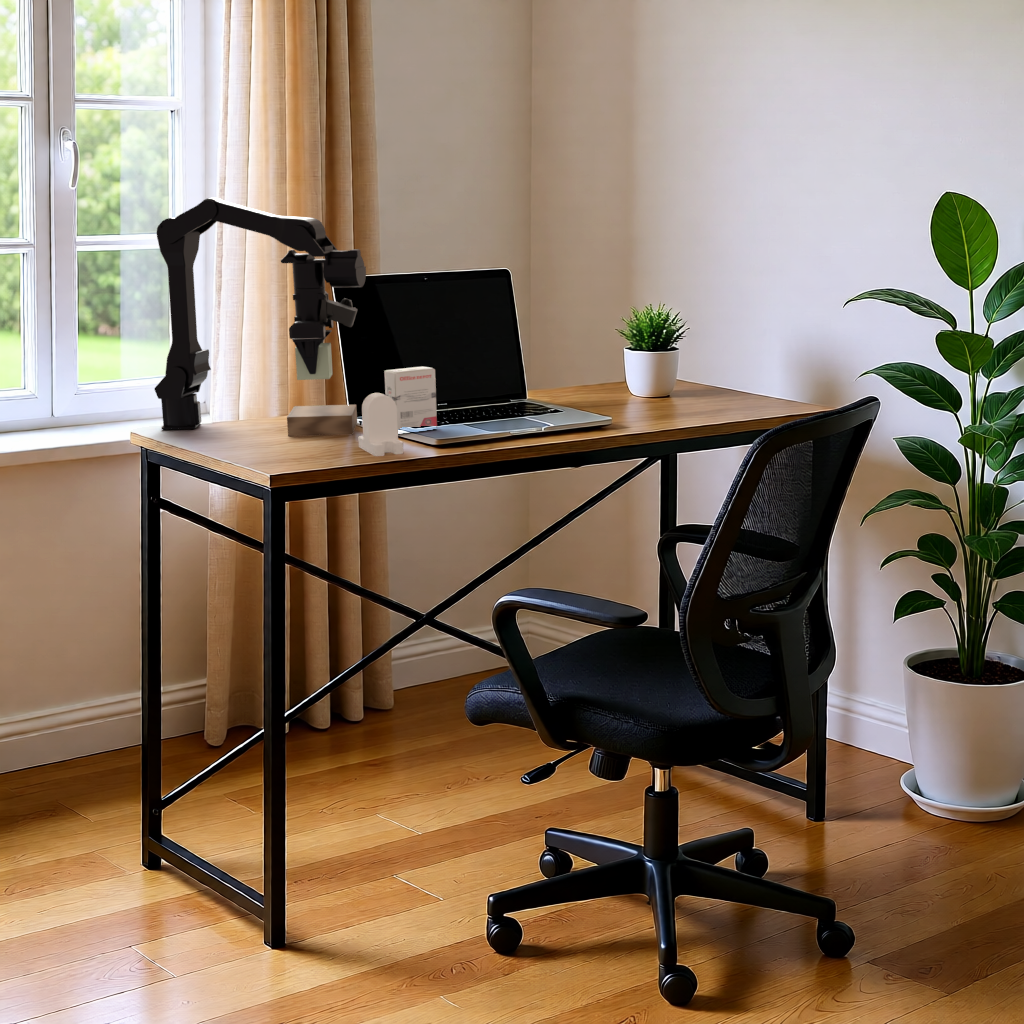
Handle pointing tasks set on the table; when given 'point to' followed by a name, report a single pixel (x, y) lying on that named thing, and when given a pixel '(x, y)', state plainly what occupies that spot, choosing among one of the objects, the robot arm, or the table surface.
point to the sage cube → (322, 364)
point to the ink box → (413, 395)
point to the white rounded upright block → (380, 426)
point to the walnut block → (322, 420)
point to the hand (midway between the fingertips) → (314, 371)
